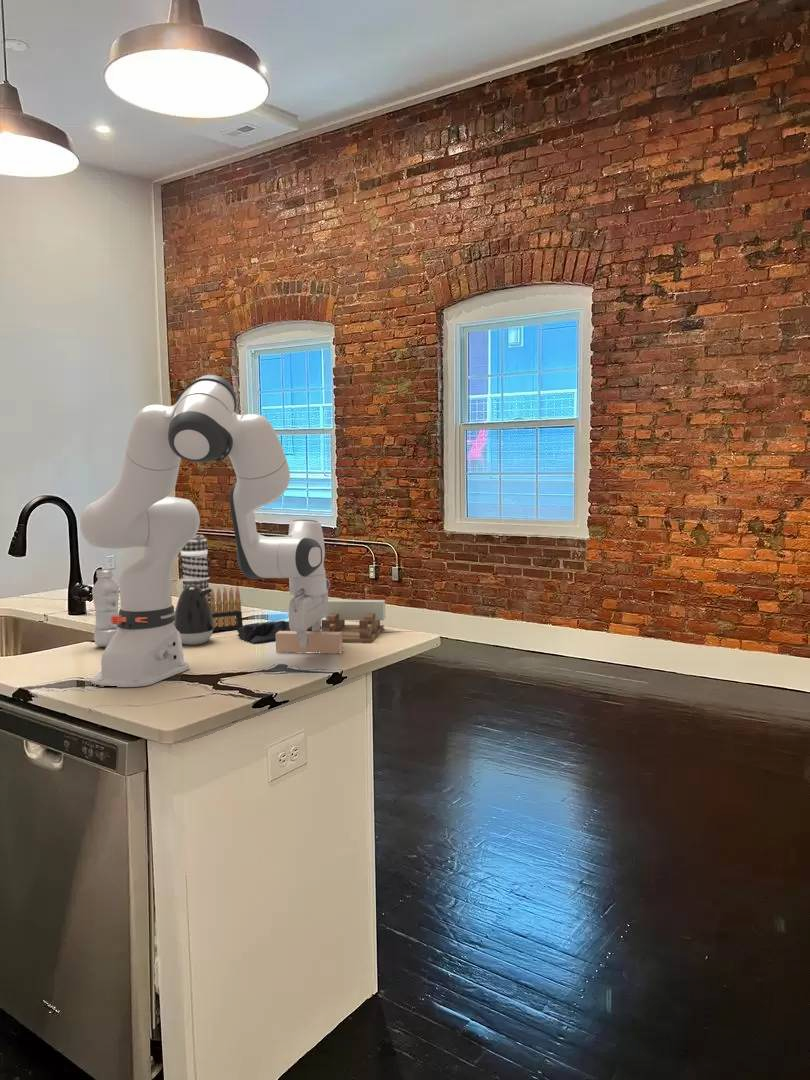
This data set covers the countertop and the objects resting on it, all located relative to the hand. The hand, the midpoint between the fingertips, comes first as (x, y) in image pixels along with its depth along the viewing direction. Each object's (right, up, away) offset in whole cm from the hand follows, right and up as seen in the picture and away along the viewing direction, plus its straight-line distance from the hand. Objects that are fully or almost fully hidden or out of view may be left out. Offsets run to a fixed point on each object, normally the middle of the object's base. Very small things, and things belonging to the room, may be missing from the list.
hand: (309, 642), depth 194 cm
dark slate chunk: (-11, -1, +22) cm, 24 cm away
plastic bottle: (-53, -3, +11) cm, 54 cm away
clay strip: (0, -3, +1) cm, 3 cm away
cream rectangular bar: (+10, +3, +22) cm, 25 cm away
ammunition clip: (-28, -1, +29) cm, 40 cm away
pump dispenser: (-31, -2, +13) cm, 34 cm away
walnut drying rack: (+9, 0, +18) cm, 20 cm away
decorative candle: (-40, +1, +49) cm, 64 cm away
